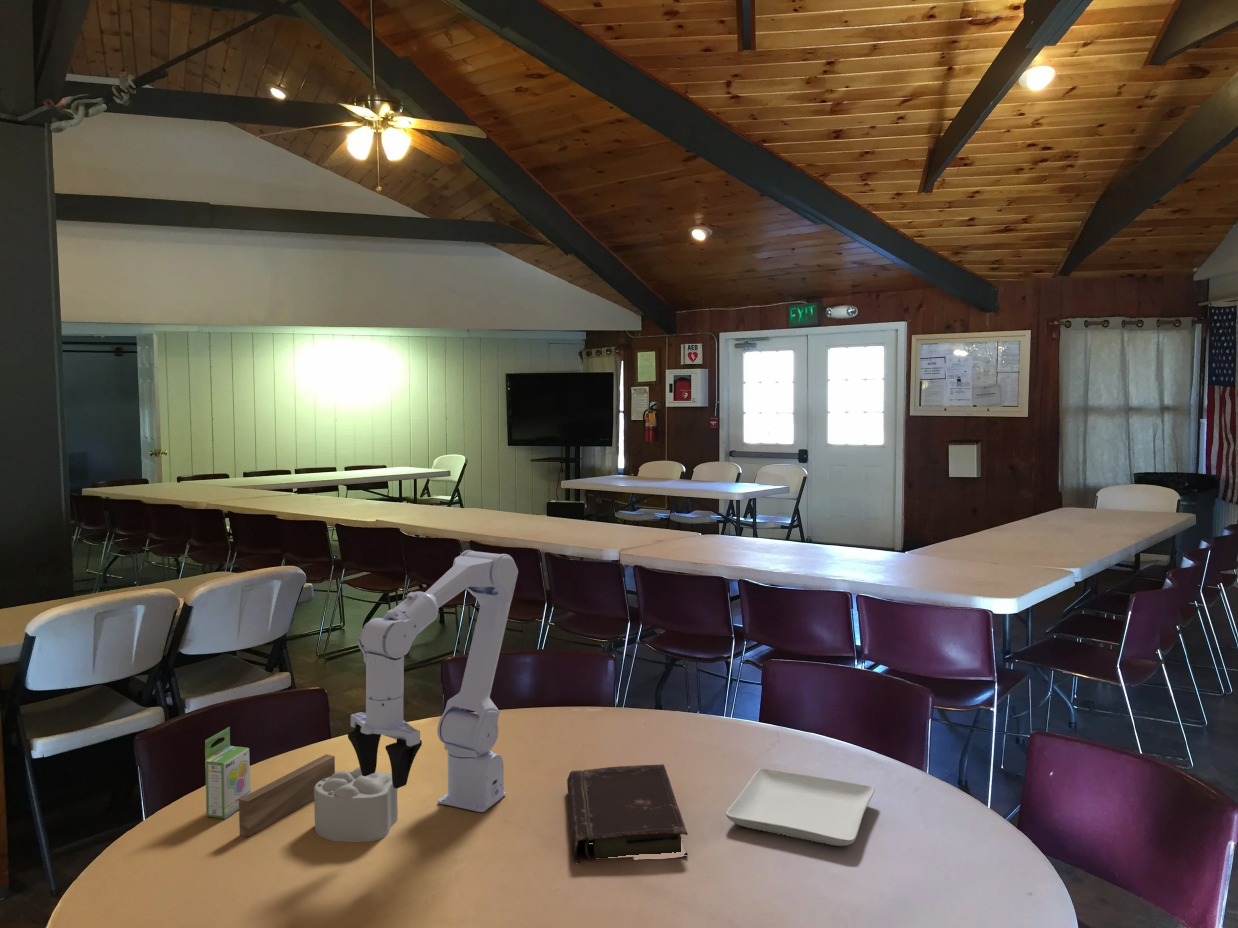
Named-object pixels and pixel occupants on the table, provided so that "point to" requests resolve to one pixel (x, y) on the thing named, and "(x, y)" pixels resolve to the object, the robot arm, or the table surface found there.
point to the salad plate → (802, 806)
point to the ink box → (225, 776)
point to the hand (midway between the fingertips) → (384, 779)
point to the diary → (624, 811)
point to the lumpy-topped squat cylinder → (355, 806)
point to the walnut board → (282, 796)
